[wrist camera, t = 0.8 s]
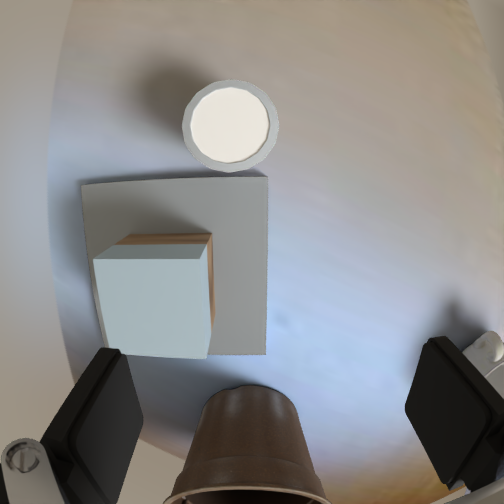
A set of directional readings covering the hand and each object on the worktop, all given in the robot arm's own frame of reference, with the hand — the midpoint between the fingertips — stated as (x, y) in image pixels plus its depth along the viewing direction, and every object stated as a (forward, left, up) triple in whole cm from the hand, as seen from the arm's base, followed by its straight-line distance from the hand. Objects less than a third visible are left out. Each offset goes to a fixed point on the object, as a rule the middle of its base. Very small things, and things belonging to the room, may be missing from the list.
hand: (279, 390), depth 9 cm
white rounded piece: (-9, -2, -22) cm, 24 cm away
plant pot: (+24, -1, -22) cm, 33 cm away
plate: (+4, -8, -22) cm, 24 cm away
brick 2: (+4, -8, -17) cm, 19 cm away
